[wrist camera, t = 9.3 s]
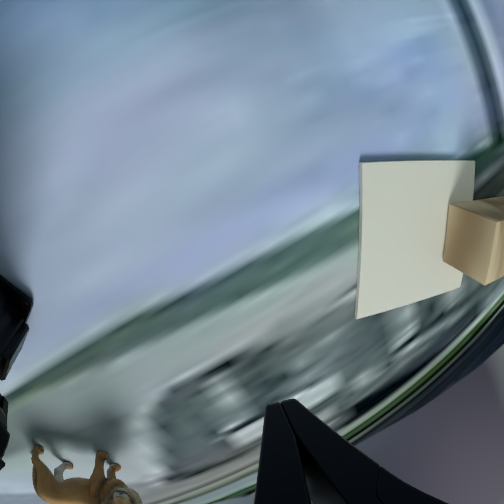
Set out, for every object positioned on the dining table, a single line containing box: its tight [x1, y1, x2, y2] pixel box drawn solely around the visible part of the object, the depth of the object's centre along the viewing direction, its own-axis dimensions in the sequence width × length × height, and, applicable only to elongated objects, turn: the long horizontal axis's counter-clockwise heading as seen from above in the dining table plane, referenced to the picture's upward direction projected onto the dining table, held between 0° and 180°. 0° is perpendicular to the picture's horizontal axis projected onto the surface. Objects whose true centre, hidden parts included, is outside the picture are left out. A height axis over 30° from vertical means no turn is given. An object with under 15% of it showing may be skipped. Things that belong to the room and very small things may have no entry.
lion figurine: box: [31, 446, 142, 504], centre depth 21 cm, size 15×5×9 cm, turn 99°
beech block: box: [443, 196, 504, 285], centre depth 22 cm, size 5×5×10 cm
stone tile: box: [355, 160, 475, 319], centre depth 23 cm, size 12×12×1 cm
